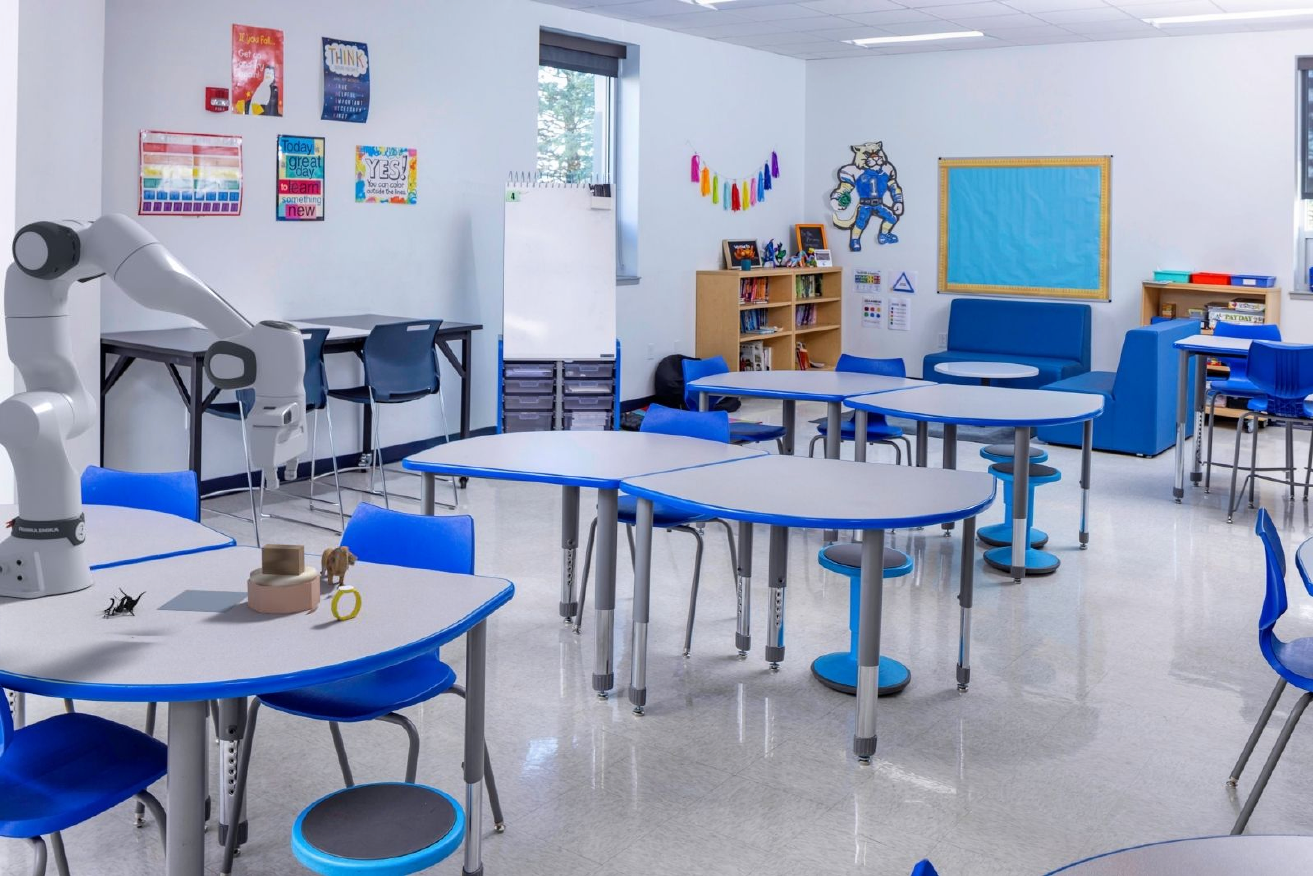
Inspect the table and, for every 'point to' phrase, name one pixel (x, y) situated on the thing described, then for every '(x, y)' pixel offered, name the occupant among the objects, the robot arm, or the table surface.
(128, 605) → the creature
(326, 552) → the lion figurine
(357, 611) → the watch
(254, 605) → the octagonal planter
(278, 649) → the table surface
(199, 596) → the mat
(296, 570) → the lid
